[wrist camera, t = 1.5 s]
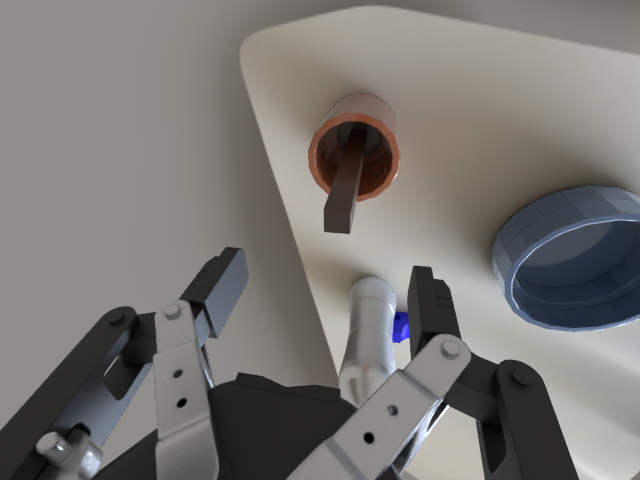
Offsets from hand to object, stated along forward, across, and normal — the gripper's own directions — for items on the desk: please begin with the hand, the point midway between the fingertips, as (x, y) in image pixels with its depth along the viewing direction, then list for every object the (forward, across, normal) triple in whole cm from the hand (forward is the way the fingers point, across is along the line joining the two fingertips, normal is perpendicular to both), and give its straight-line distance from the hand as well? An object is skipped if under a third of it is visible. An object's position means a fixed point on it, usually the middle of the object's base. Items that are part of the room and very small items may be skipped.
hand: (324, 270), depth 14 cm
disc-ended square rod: (+21, 0, 0) cm, 21 cm away
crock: (+22, 0, 0) cm, 22 cm away
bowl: (+22, -24, +12) cm, 35 cm away
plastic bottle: (+22, -3, +22) cm, 31 cm away
